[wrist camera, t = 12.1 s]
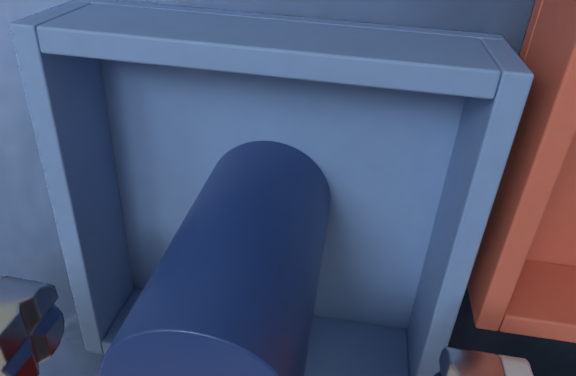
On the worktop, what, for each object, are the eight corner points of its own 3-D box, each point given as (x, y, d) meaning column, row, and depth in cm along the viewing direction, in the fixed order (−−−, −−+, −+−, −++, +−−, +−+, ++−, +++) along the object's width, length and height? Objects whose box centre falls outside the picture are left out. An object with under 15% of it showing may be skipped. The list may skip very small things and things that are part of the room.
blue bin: (502, 34, 12) (536, 74, 9) (420, 332, 17) (428, 409, 15) (79, -4, 13) (7, 23, 10) (125, 287, 18) (85, 352, 16)
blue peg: (336, 147, 14) (304, 351, 8) (324, 251, 15) (291, 478, 10) (208, 132, 14) (82, 315, 8) (211, 236, 16) (111, 444, 10)
